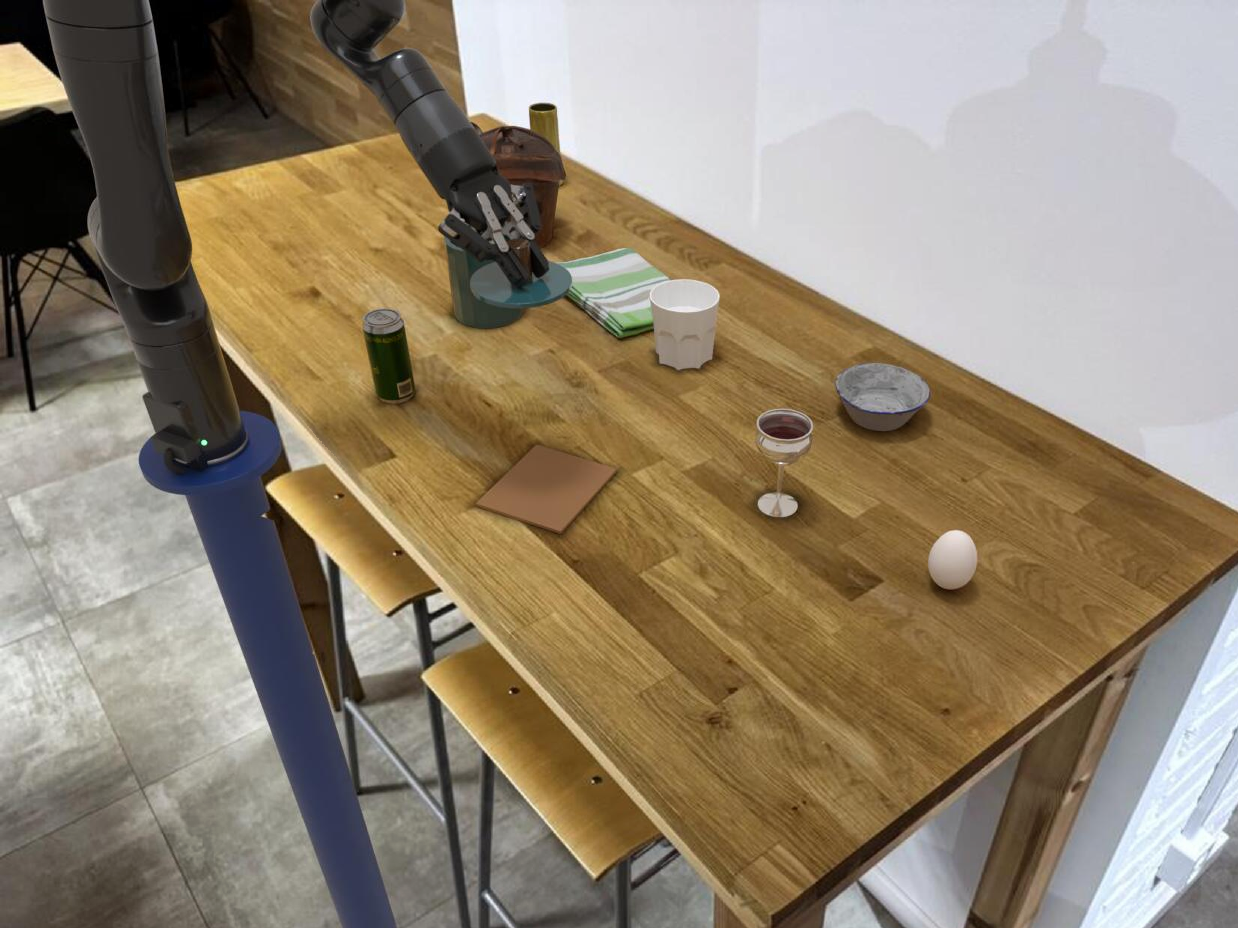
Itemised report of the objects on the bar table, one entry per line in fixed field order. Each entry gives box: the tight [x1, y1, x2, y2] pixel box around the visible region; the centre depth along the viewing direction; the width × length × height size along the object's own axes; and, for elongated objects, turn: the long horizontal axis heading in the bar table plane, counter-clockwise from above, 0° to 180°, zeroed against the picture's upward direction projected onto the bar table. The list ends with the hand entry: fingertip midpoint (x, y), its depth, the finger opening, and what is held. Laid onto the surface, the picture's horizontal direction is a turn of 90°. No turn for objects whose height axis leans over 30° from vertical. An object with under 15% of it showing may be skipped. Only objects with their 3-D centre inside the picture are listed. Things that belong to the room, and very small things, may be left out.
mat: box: [475, 444, 618, 535], centre depth 134 cm, size 14×12×1 cm
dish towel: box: [556, 247, 672, 339], centre depth 172 cm, size 17×23×4 cm
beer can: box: [361, 308, 416, 405], centre depth 146 cm, size 5×5×12 cm
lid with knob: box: [470, 238, 572, 309], centre depth 122 cm, size 12×12×6 cm
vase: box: [528, 102, 565, 187], centre depth 204 cm, size 6×6×14 cm
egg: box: [927, 529, 978, 590], centre depth 121 cm, size 5×5×8 cm
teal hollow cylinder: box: [443, 223, 524, 329], centre depth 164 cm, size 11×11×12 cm
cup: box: [650, 278, 721, 371], centre depth 157 cm, size 10×10×10 cm
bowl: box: [834, 362, 931, 432], centre depth 148 cm, size 13×13×5 cm
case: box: [479, 125, 567, 249], centre depth 183 cm, size 18×20×18 cm
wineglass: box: [754, 408, 814, 518], centre depth 129 cm, size 7×7×12 cm
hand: (533, 278), depth 122 cm, fingers closed on lid with knob, 2 cm apart
